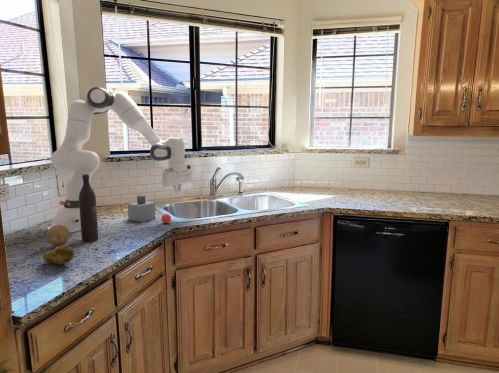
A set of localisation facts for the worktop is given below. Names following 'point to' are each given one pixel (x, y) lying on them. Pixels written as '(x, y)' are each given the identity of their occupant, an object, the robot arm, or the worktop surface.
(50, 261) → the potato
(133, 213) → the cover
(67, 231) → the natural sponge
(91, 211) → the wine bottle
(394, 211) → the worktop surface
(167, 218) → the ball
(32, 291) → the worktop surface
